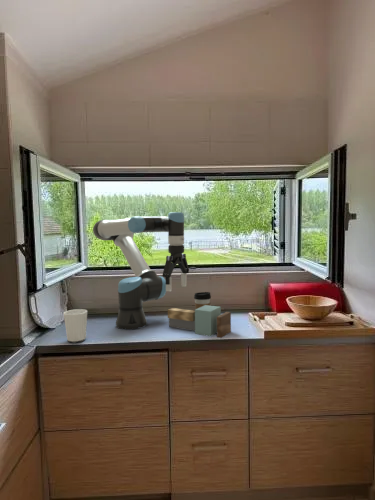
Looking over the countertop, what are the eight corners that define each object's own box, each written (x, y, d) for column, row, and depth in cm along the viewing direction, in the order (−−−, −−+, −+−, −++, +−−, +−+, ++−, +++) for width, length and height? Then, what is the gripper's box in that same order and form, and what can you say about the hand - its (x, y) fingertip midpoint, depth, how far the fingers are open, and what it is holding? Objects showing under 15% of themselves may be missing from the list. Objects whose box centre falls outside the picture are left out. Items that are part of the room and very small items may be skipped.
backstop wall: (217, 337, 149) (216, 316, 148) (226, 331, 157) (226, 311, 157) (221, 337, 148) (221, 317, 147) (230, 331, 156) (230, 312, 156)
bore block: (195, 333, 155) (194, 309, 154) (205, 327, 163) (205, 305, 163) (211, 336, 151) (210, 311, 150) (221, 330, 159) (220, 306, 158)
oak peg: (167, 317, 166) (167, 309, 166) (172, 315, 169) (172, 307, 169) (192, 321, 159) (192, 312, 158) (197, 319, 162) (196, 311, 162)
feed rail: (169, 326, 167) (168, 317, 167) (171, 325, 169) (171, 316, 169) (195, 330, 159) (195, 321, 159) (198, 329, 161) (198, 320, 161)
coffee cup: (210, 324, 168) (209, 294, 167) (193, 324, 170) (192, 294, 169) (212, 320, 176) (211, 291, 175) (196, 319, 178) (195, 291, 177)
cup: (91, 341, 147) (89, 312, 146) (67, 346, 142) (65, 315, 141) (85, 335, 156) (84, 307, 155) (62, 339, 151) (61, 311, 150)
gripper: (168, 246, 151) (168, 294, 152) (195, 243, 172) (195, 285, 174) (154, 246, 154) (154, 292, 156) (183, 242, 176) (183, 283, 178)
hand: (176, 288), depth 165 cm, fingers open, 13 cm apart
